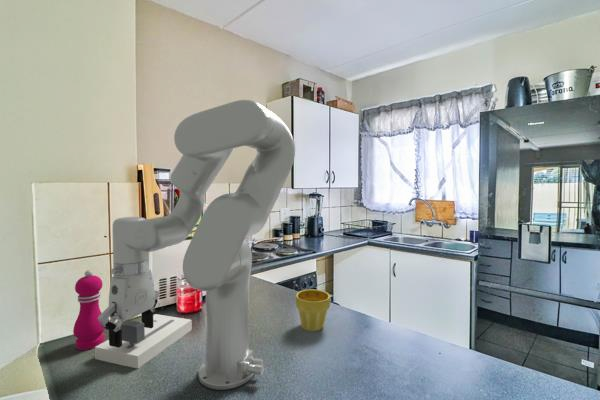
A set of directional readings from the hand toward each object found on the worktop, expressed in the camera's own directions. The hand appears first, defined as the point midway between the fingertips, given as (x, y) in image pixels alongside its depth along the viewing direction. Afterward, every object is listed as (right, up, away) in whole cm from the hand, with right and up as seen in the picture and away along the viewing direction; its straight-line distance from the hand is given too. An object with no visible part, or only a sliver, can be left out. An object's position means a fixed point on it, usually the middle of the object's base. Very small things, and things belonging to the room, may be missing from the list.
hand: (132, 336), depth 75 cm
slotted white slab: (0, -5, +7) cm, 9 cm away
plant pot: (+45, -5, +18) cm, 49 cm away
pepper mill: (-15, -5, +6) cm, 17 cm away
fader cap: (0, -2, 0) cm, 2 cm away
